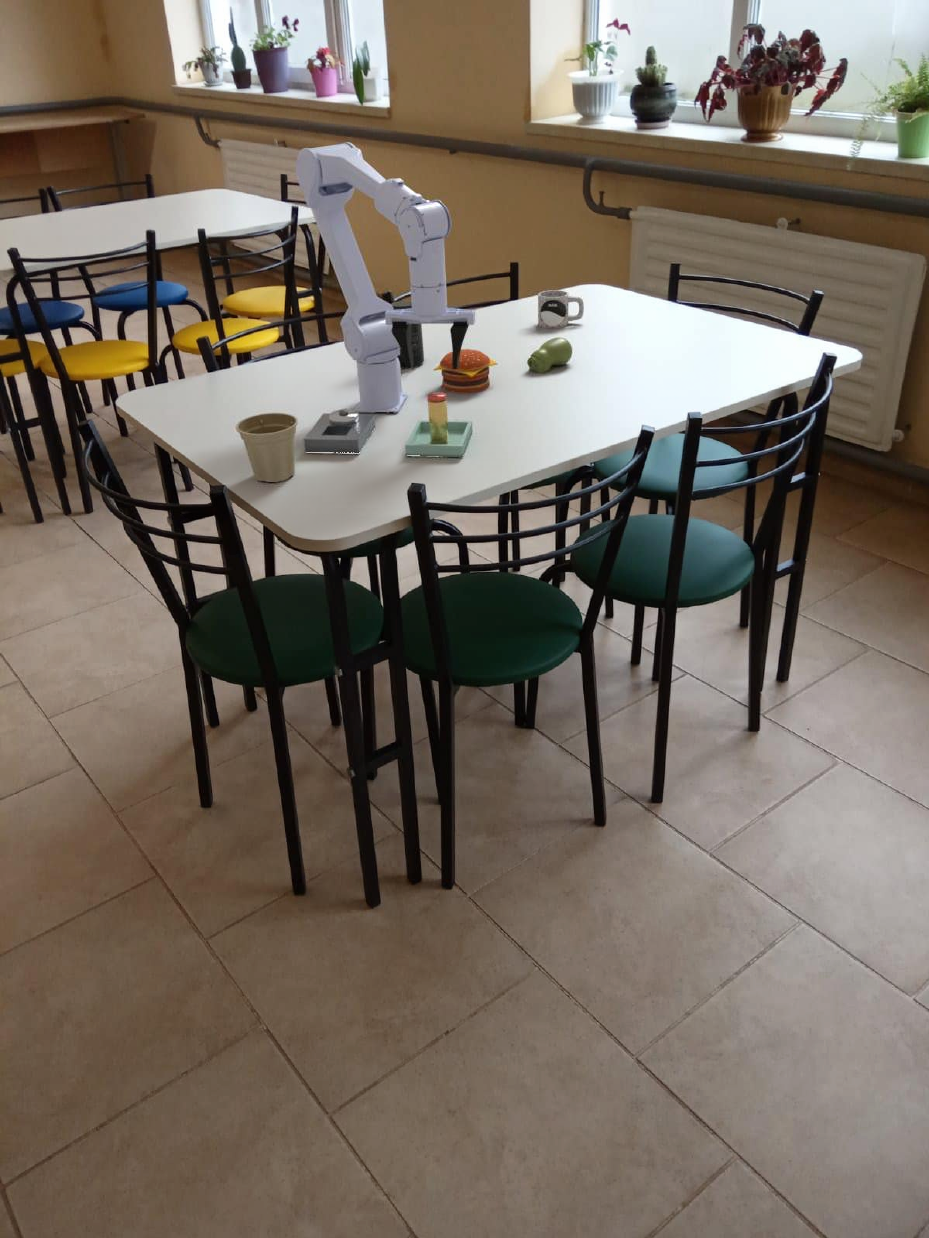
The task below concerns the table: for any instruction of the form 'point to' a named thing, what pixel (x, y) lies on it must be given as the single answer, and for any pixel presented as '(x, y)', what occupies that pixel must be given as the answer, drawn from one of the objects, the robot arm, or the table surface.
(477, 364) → the hamburger
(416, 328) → the supplement bottle
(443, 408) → the yellow jar
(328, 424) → the block
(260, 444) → the flower pot
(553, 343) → the pear
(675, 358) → the table surface
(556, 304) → the mug
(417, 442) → the tray
